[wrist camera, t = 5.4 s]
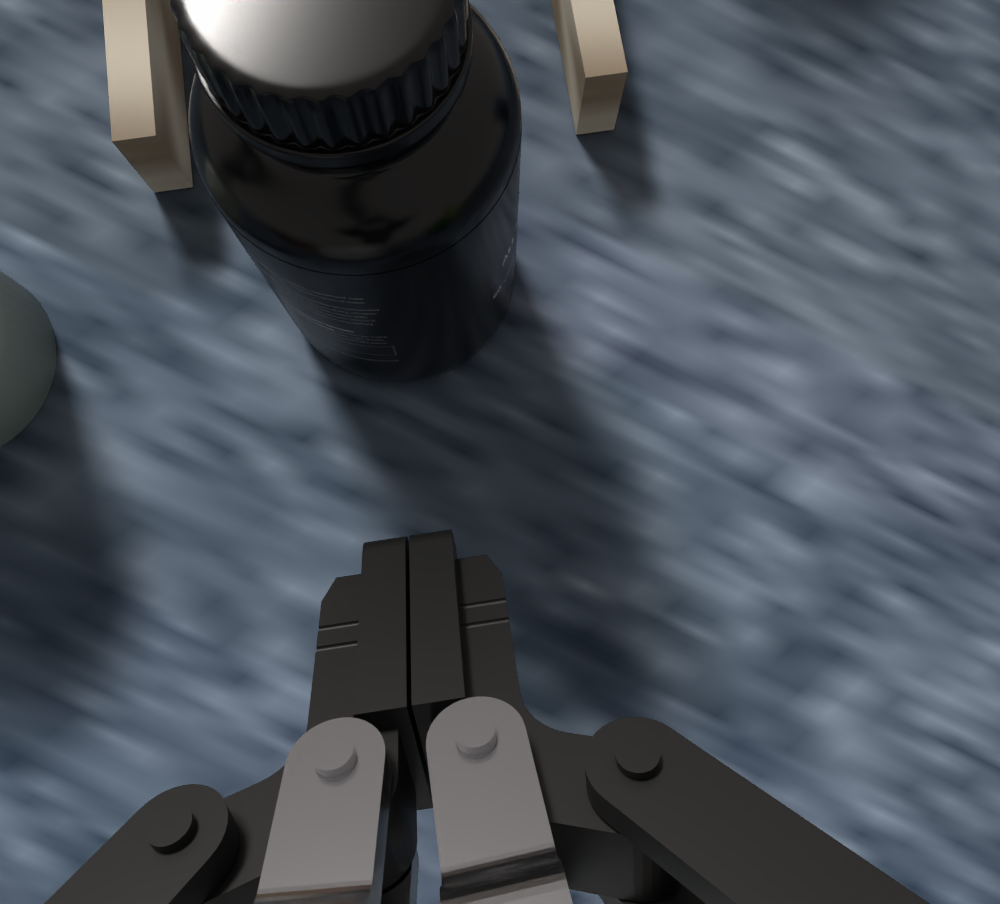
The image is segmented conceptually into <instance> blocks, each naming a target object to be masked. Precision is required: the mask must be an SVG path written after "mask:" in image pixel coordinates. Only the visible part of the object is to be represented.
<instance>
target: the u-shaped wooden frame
mask: <svg viewBox="0 0 1000 904" xmlns="http://www.w3.org/2000/svg"><path fill="white" fill-rule="evenodd" d="M102 2H103V17H104V32H105V46H106V61H107V76H108V90H109V105H110V120H111V135H112V142H113V143H114V144H115V146H116V147H117V148H118V149H119V151H120V152H121V153H122V154H123V155H124V157H125V158H126V159H127V160H128V161H129V163H130V164H131V165H132V166H133V168H134V169H135V170H136V171H137V172H138V174H139V175H140V176H141V177H142V178H143V180H144V181H145V182H146V183H147V185H148V186H149V187H150V188H151V189H152V191H153V192H162V191H169V190H176V189H184V188H191V187H193V181H192V170H191V159H190V147H189V136H188V124H187V113H186V102H185V90H184V79H183V67H182V56H181V44H180V35H179V31H178V26H177V20H176V18H175V16H174V14H173V12H172V10H171V6H170V0H102ZM551 3H552V8H553V13H554V19H555V24H556V29H557V35H558V40H559V46H560V51H561V56H562V62H563V67H564V72H565V78H566V83H567V88H568V94H569V99H570V104H571V110H572V115H573V120H574V126H575V131H576V135H579V134H586V133H593V132H600V131H608V130H614V127H615V123H616V119H617V115H618V111H619V106H620V102H621V98H622V94H623V90H624V86H625V82H626V77H627V73H628V70H627V65H626V60H625V56H624V51H623V46H622V41H621V36H620V31H619V26H618V21H617V16H616V11H615V6H614V1H613V0H551Z"/></svg>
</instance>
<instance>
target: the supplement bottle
mask: <svg viewBox="0 0 1000 904" xmlns="http://www.w3.org/2000/svg"><path fill="white" fill-rule="evenodd" d="M170 6H171V10H172V12H173V14H174V16H175V18H176V20H177V26H178V31H179V35H180V37H181V39H182V41H183V43H184V45H185V47H186V49H187V50H188V52H189V54H190V56H191V58H192V61H193V66H194V70H195V75H194V79H193V83H192V88H191V93H190V100H189V112H188V121H189V136H190V143H191V148H192V152H193V156H194V160H195V164H196V166H197V169H198V172H199V174H200V177H201V179H202V181H203V183H204V185H205V187H206V189H207V190H208V192H209V194H210V196H211V198H212V200H213V202H214V203H215V205H216V206H217V208H218V209H219V211H220V212H221V214H222V215H223V217H224V219H225V220H226V222H227V223H228V224H229V226H230V227H231V229H232V230H233V232H234V233H235V235H236V236H237V238H238V239H239V241H240V242H241V244H242V245H243V247H244V248H245V250H246V251H247V253H248V254H249V256H250V257H251V259H252V260H253V262H254V263H255V265H256V266H257V268H258V269H259V271H260V272H261V274H262V275H263V277H264V278H265V280H266V281H267V283H268V284H269V286H270V287H271V289H272V290H273V291H274V293H275V294H276V296H277V297H278V299H279V300H280V302H281V303H282V305H283V306H284V308H285V309H286V311H287V312H288V314H289V315H290V317H291V318H292V320H293V321H294V323H295V324H296V325H297V327H298V328H299V330H300V331H301V332H302V334H303V335H304V336H305V337H306V339H307V340H308V341H309V342H310V343H311V344H312V345H313V346H314V347H315V348H316V349H317V350H318V351H319V352H320V353H321V354H322V355H323V356H324V357H326V358H327V359H328V360H330V361H331V362H333V363H334V364H336V365H337V366H339V367H341V368H343V369H345V370H347V371H349V372H351V373H354V374H356V375H359V376H362V377H366V378H369V379H374V380H379V381H389V382H407V381H416V380H421V379H426V378H430V377H433V376H437V375H439V374H442V373H444V372H447V371H449V370H451V369H453V368H455V367H457V366H458V365H460V364H461V363H463V362H465V361H466V360H468V359H469V358H470V357H471V356H473V355H474V354H475V353H476V352H478V351H479V350H480V349H481V348H482V347H483V346H484V345H485V344H486V342H487V341H488V340H489V339H490V338H491V337H492V335H493V334H494V332H495V331H496V329H497V328H498V326H499V325H500V323H501V321H502V319H503V317H504V315H505V312H506V310H507V308H508V304H509V301H510V298H511V294H512V289H513V283H514V273H515V262H516V242H517V221H518V200H519V179H520V158H521V135H522V122H521V102H520V94H519V88H518V84H517V79H516V75H515V72H514V70H513V67H512V64H511V61H510V58H509V56H508V54H507V52H506V50H505V48H504V46H503V44H502V43H501V41H500V39H499V38H498V36H497V35H496V33H495V31H494V30H493V29H492V27H491V26H490V25H489V24H488V22H487V21H486V20H485V18H484V17H483V16H482V15H481V14H480V13H479V12H478V11H477V10H476V9H475V8H474V7H473V6H472V5H471V4H470V3H469V0H170Z"/></svg>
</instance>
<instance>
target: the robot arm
mask: <svg viewBox="0 0 1000 904" xmlns="http://www.w3.org/2000/svg"><path fill="white" fill-rule="evenodd" d="M428 808H433V809H434V818H435V826H436V834H437V843H438V851H439V859H440V867H441V877H442V886H440V903H441V904H573V903H572V899H571V895H570V891H569V889H572V890H577V891H582V892H588V893H593V894H598V895H599V896H600V898H601V899H602V901H603V902H604V904H929V903H928V902H927V901H925V900H924V899H922V898H921V897H919V896H918V895H916V894H915V893H913V892H912V891H910V890H909V889H907V888H906V887H904V886H903V885H901V884H900V883H899V882H897V881H896V880H894V879H893V878H891V877H890V876H888V875H887V874H885V873H884V872H882V871H881V870H879V869H878V868H876V867H875V866H873V865H872V864H870V863H869V862H868V861H866V860H865V859H863V858H862V857H860V856H859V855H857V854H856V853H854V852H853V851H851V850H850V849H848V848H847V847H845V846H844V845H842V844H841V843H840V842H838V841H837V840H835V839H834V838H832V837H831V836H829V835H828V834H826V833H825V832H823V831H822V830H820V829H819V828H817V827H816V826H814V825H813V824H811V823H810V822H809V821H807V820H806V819H804V818H803V817H801V816H800V815H798V814H797V813H795V812H794V811H792V810H791V809H789V808H788V807H786V806H785V805H783V804H782V803H781V802H779V801H778V800H776V799H775V798H773V797H772V796H770V795H769V794H767V793H766V792H764V791H763V790H761V789H760V788H758V787H757V786H755V785H754V784H752V783H751V782H750V781H748V780H747V779H745V778H744V777H742V776H741V775H739V774H738V773H736V772H735V771H733V770H732V769H730V768H729V767H727V766H726V765H724V764H723V763H722V762H720V761H719V760H717V759H716V758H714V757H713V756H711V755H710V754H708V753H707V752H705V751H704V750H702V749H701V748H699V747H698V746H696V745H695V744H693V743H692V742H691V741H689V740H688V739H686V738H685V737H683V736H682V735H680V734H679V733H677V732H676V731H674V730H673V729H671V728H670V727H668V726H666V725H665V724H663V723H661V722H658V721H656V720H652V719H648V718H642V717H627V718H622V719H618V720H615V721H612V722H610V723H608V724H606V725H605V726H603V727H602V728H601V729H599V730H598V731H597V732H596V733H595V734H594V736H593V737H592V736H585V735H578V734H571V733H566V732H561V731H557V730H555V729H552V728H550V727H548V726H546V725H544V724H542V723H541V722H539V721H538V720H537V719H535V718H534V717H533V716H532V715H531V714H530V713H529V711H528V710H527V708H526V707H525V705H524V703H523V701H522V698H521V694H520V689H519V683H518V676H517V670H516V663H515V657H514V650H513V644H512V637H511V631H510V624H509V618H508V611H507V605H506V598H505V592H504V585H503V579H502V574H501V572H500V571H499V570H498V569H497V567H496V566H495V565H494V564H493V562H492V561H491V560H490V559H489V558H488V556H487V555H482V556H475V557H468V558H462V559H458V558H457V552H456V547H455V542H454V536H453V532H452V529H451V530H445V531H438V532H431V533H425V534H418V535H411V536H410V537H409V540H408V538H407V537H399V538H393V539H386V540H379V541H373V542H366V543H364V545H363V554H362V571H361V574H358V575H351V576H344V577H338V578H336V579H335V581H334V582H333V584H332V586H331V587H330V589H329V590H328V592H327V594H326V595H325V597H324V598H323V600H322V602H321V611H320V620H319V631H318V638H317V652H316V655H315V664H314V673H313V682H312V691H311V699H310V708H309V717H308V726H307V731H306V733H305V734H304V735H302V737H301V738H300V739H299V740H298V741H297V742H296V743H295V745H294V746H293V747H292V749H291V751H290V753H289V755H288V757H287V760H286V763H285V766H283V767H282V768H281V769H280V770H279V771H277V772H276V773H274V774H273V775H271V776H270V777H268V778H266V779H265V780H263V781H261V782H259V783H257V784H254V785H252V786H250V787H248V788H246V789H243V790H241V791H239V792H237V793H235V794H232V795H230V796H228V797H226V798H224V799H223V797H222V796H221V795H220V794H219V793H218V792H217V791H216V790H214V789H212V788H210V787H208V786H204V785H198V784H190V785H182V786H178V787H175V788H172V789H170V790H167V791H165V792H163V793H161V794H159V795H157V796H156V797H154V798H153V799H151V800H150V801H149V802H147V803H146V804H145V805H144V806H143V807H142V808H141V809H139V810H138V811H137V812H136V813H135V814H134V815H133V816H132V817H131V818H130V819H129V820H128V821H127V822H126V823H125V824H124V825H123V826H122V827H121V828H120V829H119V830H118V831H117V832H116V833H115V834H114V835H113V836H112V837H111V838H110V839H109V840H108V841H107V842H106V843H105V844H104V845H103V846H102V847H101V848H100V849H99V850H98V851H97V852H96V853H95V854H94V855H93V856H92V857H91V858H90V859H89V860H88V861H87V862H86V863H85V864H84V865H83V866H82V867H81V868H80V869H79V870H78V871H77V872H76V873H75V874H74V875H73V876H72V877H71V878H70V879H69V880H68V881H67V882H66V883H65V884H64V885H63V886H62V887H61V888H60V889H59V890H58V891H57V892H56V893H55V894H54V895H53V896H52V897H51V898H50V899H49V900H47V901H46V902H45V903H44V904H417V886H418V868H419V859H418V853H417V849H416V848H417V812H416V810H421V809H428Z"/></svg>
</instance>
